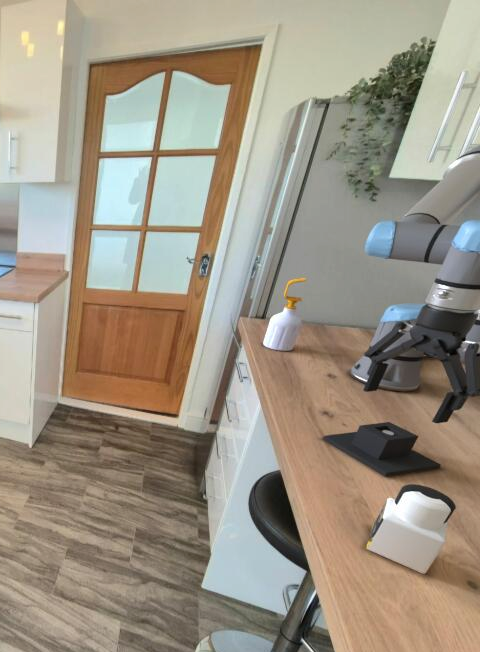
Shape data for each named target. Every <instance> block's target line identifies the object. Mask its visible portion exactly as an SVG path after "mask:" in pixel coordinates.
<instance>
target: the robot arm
mask: <svg viewBox="0 0 480 652" xmlns="http://www.w3.org/2000/svg"><path fill="white" fill-rule="evenodd" d="M479 195H480V144H479V145H477V146H475V147H473V148H471V149H470V150H468V151H466V152H465V153H463V154H461V155H460V156H459V157H457V158H456V159H455V160H454V161H453V162H452V163H451V164H450V165H449V166H448V167H447V168H446V169H445V171H444V173H443V176H442V179H440V181H438V183H436V184H435V186H434V187H432V189H431V190H429V191H428V192H427V193H426V194H425V195H424V196H423V197H422V198H421V199H420V200H419V201H418V202H417V203H416V204H415V205H413V207H412V208H410V209H409V210H408V212H406V213H405V215H403V216H402V217H401V218H400V219H399V220H398V221H396V220H395V219H394V220H383V221H379V222H378V223H377V224H375V225H374V226H373V228H372V229H371V231H370V232H369V234H368V237H367V239H366V242H365V247H364V250H365V253H366V255H367V256H370V257H374V258H375V257H376V258H380V259H381V258H382V259H385V260H398V261H407V262H414V263H415V262H416V263H425V264H433V265H441V267H440V269H439V271H438V274H437V276H436V278H435V279H434V282H433V284H432V286H431V288H430V290H429V292H428V294H427V297H426V299H425V302H426V303H398V304H397V303H396V304H393V305H390V306H388V307H387V308H386V309H385V311H384V313H383V315H382V316H381V318H380V319H379V323H378V326H377V328H376V331H375V332H374V335H373V337H372V340H371V341H370V344H369V347H368V349H367V350H366V351H365V352H364V353H363V355H362V356H361V357H360V358H359V360H358V361H357V362H355V364H353V366H352V367H351V369H350V371H349V375H350V376H351V377H352V379H354V380H355V381H358V382H360V383H362V384H364V388H363V391H364V392H366V393H368V392H369V393H370V392H376V391H377V390H378V389H381V390H385V391H393V392H403V393H405V392H406V393H408V392H414V391H416V390H417V389H418V387H419V385H420V383H421V364H422V363H421V362H422V360H425V359H438V361H439V362H440V363H442V366H443V369H444V371H445V373H446V376H447V378H448V381H449V383H450V386H451V388H452V391H448V392H447V393H446V395H445V397H444V398H443V400H442V402H441V404H440V405H439V408H438V410H437V412H436V413H435V415H434V417H433V419H432V420H431V422H432V423H434V424H443V423H448V422H449V420H450V418H451V417H452V414H453V413H454V412H455V411H460V410H461V409H462V408H463V407H464V405H465V403H466V402H467V399H468V398H469V397H470V398H476V397H480V219H469V220H466V221H464V222H463V223H462V224H461V225H456V224H455V225H454V224H451V223H452V222H453V221H454V220H455V219H456V218H457V217H458V216H459V215H461V213H462V212H463V211H464V210H465V209H466V208H467V207H468V206H469V205H470V204H471V203H472V202H473V201H474V200H475V199H476V198H477V197H478V196H479ZM463 365H464V366H463Z"/></svg>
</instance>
